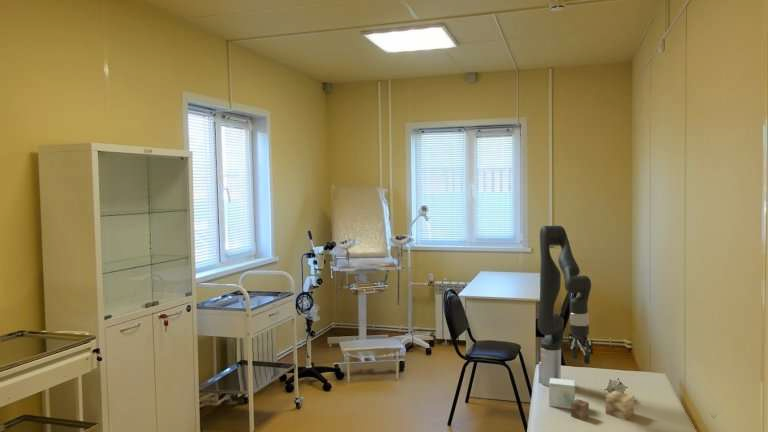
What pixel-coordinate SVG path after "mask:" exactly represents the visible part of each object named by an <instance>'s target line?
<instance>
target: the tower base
mask: <svg viewBox="0 0 768 432" xmlns="http://www.w3.org/2000/svg"><path fill="white" fill-rule="evenodd" d="M634 407H635V405H634V406H632V407H631V408H629V409H628V410H626V411H623V410H620V409H616V408H613V407H610V406H607V405H606V404H605V415H607V416H611V417H615V418H617V419H621V420H623V421H625V420H627V419H628V418H631V416H633V415H634Z"/></svg>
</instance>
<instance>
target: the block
mask: <svg viewBox="0 0 768 432" xmlns="http://www.w3.org/2000/svg"><path fill="white" fill-rule="evenodd" d="M589 407H590V405H589V402H588V401H585V400H583V399H579V398H576V399H575V401H573V402H571V409H570V417H572V418H574V419H577V420H580V421H584V420H586V419H587V418H589V414H590V413H589V412H590V411H589Z"/></svg>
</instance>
